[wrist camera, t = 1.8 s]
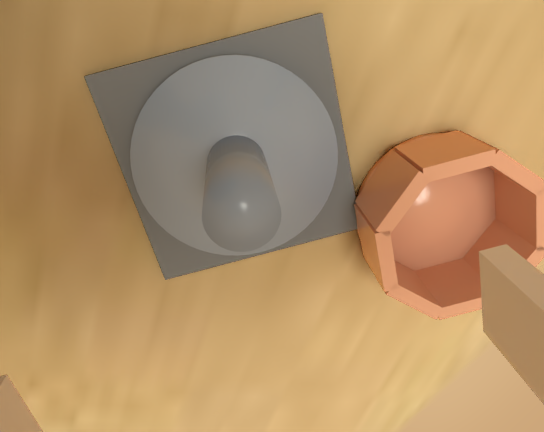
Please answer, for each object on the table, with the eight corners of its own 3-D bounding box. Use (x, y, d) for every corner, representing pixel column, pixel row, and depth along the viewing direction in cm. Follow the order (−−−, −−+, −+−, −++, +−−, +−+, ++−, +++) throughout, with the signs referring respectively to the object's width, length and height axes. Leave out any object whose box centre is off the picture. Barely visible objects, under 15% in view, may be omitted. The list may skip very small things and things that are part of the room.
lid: (100, 85, 27) (47, 117, 18) (312, 29, 27) (354, 36, 18) (171, 268, 32) (154, 357, 24) (349, 221, 32) (394, 294, 24)
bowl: (342, 155, 30) (366, 183, 25) (498, 114, 30) (552, 134, 25) (367, 287, 35) (391, 332, 30) (503, 251, 35) (550, 290, 30)
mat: (86, 75, 27) (84, 76, 26) (320, 12, 27) (322, 13, 26) (166, 276, 33) (165, 279, 32) (359, 225, 32) (361, 228, 32)
